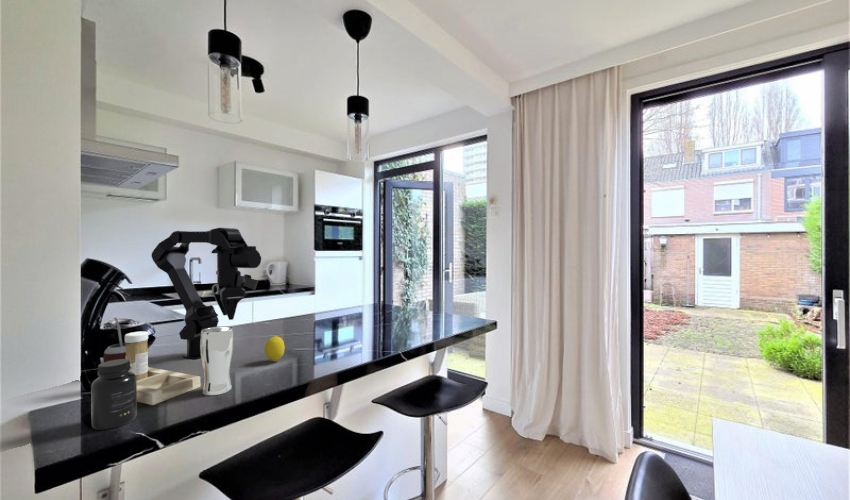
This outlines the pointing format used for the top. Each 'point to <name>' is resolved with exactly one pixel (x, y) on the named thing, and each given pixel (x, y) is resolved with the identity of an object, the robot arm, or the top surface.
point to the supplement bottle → (113, 395)
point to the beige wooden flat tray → (160, 378)
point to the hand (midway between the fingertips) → (228, 317)
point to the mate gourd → (115, 348)
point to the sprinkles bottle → (137, 353)
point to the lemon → (274, 348)
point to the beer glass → (216, 359)
